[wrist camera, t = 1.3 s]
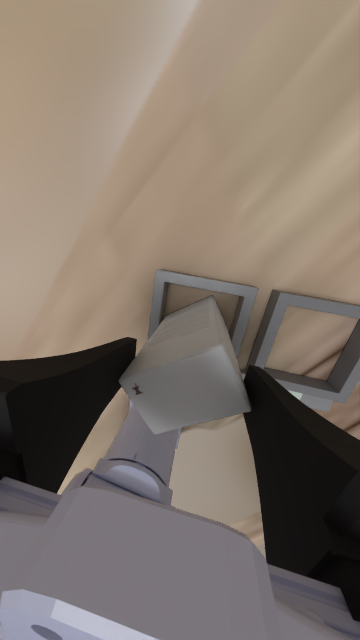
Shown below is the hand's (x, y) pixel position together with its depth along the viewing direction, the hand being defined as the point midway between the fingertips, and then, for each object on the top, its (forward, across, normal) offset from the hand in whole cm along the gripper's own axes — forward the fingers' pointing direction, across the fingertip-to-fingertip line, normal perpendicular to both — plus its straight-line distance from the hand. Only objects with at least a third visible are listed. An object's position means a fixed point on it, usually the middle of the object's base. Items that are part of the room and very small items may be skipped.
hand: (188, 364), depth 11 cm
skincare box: (+10, 0, 0) cm, 10 cm away
